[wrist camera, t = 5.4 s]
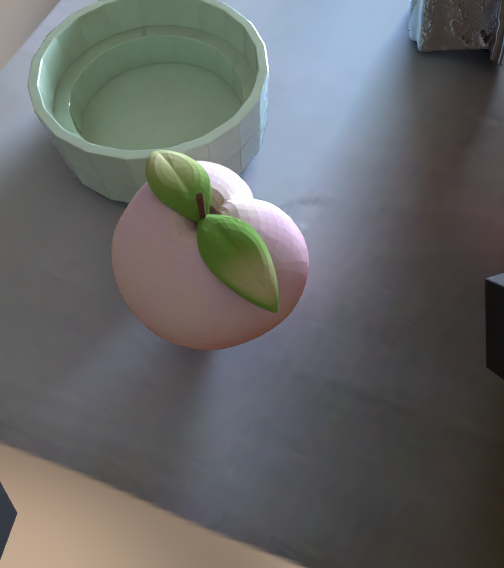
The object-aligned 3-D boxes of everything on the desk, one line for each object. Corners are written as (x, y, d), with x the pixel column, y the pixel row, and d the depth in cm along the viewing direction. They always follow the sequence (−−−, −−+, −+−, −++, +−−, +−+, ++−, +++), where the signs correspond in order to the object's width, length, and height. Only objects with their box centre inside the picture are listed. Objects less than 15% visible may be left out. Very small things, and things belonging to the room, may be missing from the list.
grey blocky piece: (419, -33, 39) (409, -99, 28) (510, -46, 36) (537, -125, 26) (408, 85, 42) (396, 65, 31) (492, 81, 39) (510, 57, 28)
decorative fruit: (108, 295, 26) (28, 192, 17) (211, 210, 28) (190, 79, 19) (219, 412, 23) (196, 365, 14) (323, 307, 25) (361, 208, 16)
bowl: (27, 187, 29) (-15, 132, 24) (106, 42, 35) (84, -24, 30) (237, 230, 27) (234, 180, 23) (284, 72, 33) (288, 6, 29)
